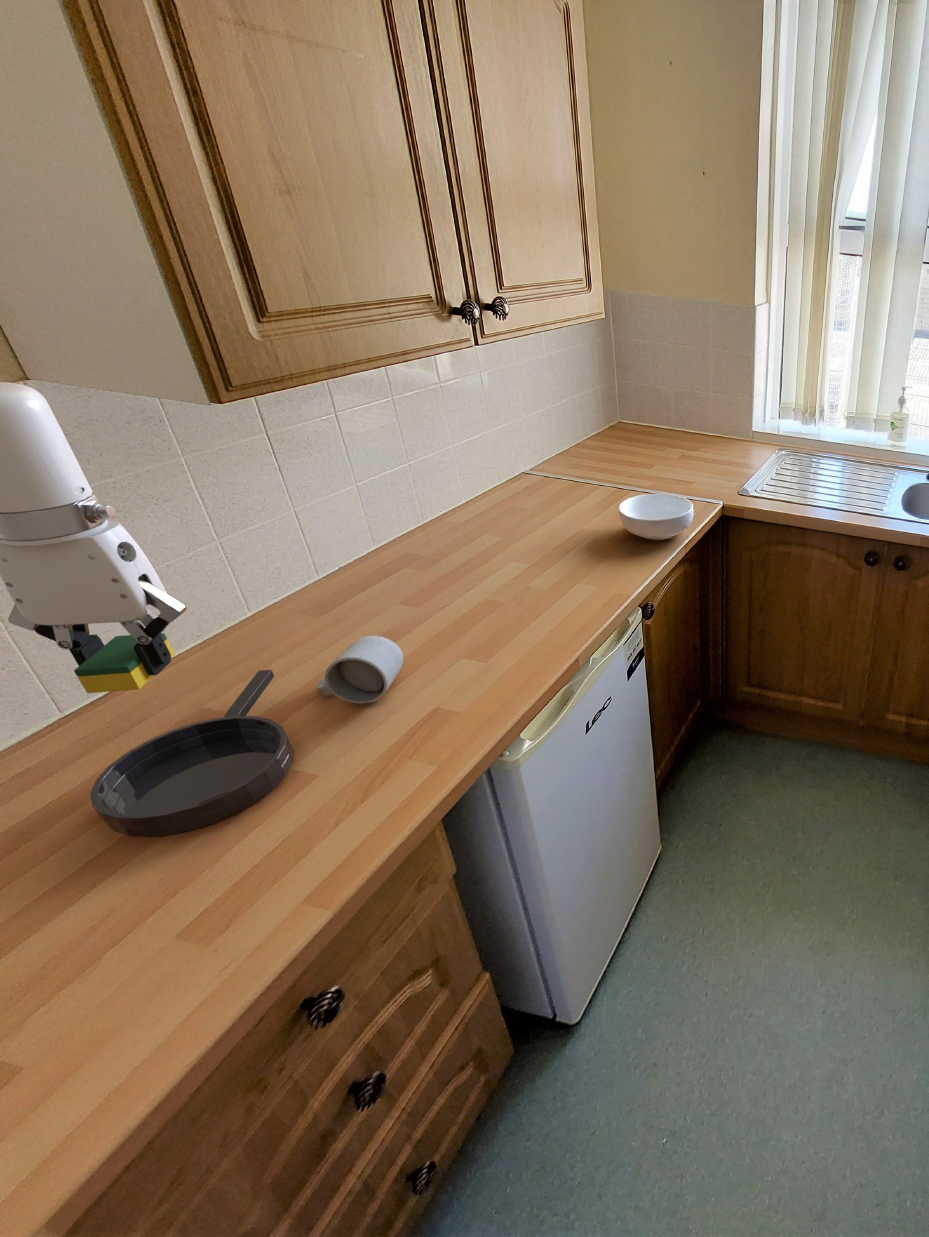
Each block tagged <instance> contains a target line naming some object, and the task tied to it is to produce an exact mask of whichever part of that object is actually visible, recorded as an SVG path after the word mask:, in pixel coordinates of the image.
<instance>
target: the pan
mask: <svg viewBox="0 0 929 1237" xmlns="http://www.w3.org/2000/svg"><path fill="white" fill-rule="evenodd" d="M294 757H295V750H294V748H293V746H292V743H291V741H290V739H289V737H288V734H287V732H286V730H285V728H284V727H283V725H281V724H280V723H278V722H277V721H275V720H273V719H271V718H266V717H262V716H258V715H246V716H232V717H223V716H222V717H215V718H211V719H207V720H202V721H197V722H193V723H190V724H187V725H185V726H181V727H178V728H175V729H171V730H169V731H167V732H164V733H162V734H160V735H158V736H156V737H153V738H151V739H148V740H146V741H145V742H143V743H141V744H139V745H137V746H135V747H134V748H132V749H131V750H129V751H127V752H125V753H124V754H122V755H121V756H120V757H119V758H117V759H116V760H115V761H113V762H112V763H110V765H108V766H107V767H106V768H105V769H104V771H103V772H102V773H101V774H100V775H99V776H98V777H97V778H96V779H95V781H94V784H93V786H92V788H91V790H90V792H89V796H90V803H91V806H92V807H93V809H94V810H95V812H96V814H98V816H99V818H100V819H101V820H102V822H103V823H104V824H105V825H106V826H107V827H108V828H109V829H110V830H111V831H112V832H115V833H118V834H120V835H124V836H127V837H137V838H163V837H172V836H176V835H177V836H178V835H183V834H186V833H191V832H195V831H198V830H201V829H204V828H208V827H211V826H213V825H216V824H218V823H220V822H223V821H225V820H228V819H230V818H232V817H234V816H236V815H238V814H240V813H242V812H244V811H246V810H248V808H251V807H253V806H254V805H255V804H257V803H258V802H260V801H261V800H263V799H264V798H265V797H267V796H268V795H270V794H271V793H272V792H273V791H274V790H275V789H276V788H277V787H278V786H279V785H280V783H281V782H282V781H283V780H284V779H285V777H287V775H288V773H289V771H290V769H291V767H292V765H293V763H294Z"/></svg>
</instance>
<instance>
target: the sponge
mask: <svg viewBox="0 0 929 1237" xmlns="http://www.w3.org/2000/svg"><path fill="white" fill-rule="evenodd" d="M161 636H162V638H163V640H164V642H165V644H166V646H167V648H168V650H169V652H170V654H171V659H172V658H173V657H175V655H176V653H175V651H174V649H173V648H172V645H171V642H170V641H169V639H168V638H167V635H166V634H165V632H161ZM137 643H138V642H137V641H136V640H135V639H134V638H133V637H132V636H131V635H130V634H128V635H115V636H114V637H113V638H111V639H110V640H109V641H108V642H106V644H104V646H103V647H102V648H101V649H100V650H98V651H97V652H96V653H95V654H93V655H92V656H91V657H90V658H89V659H87V660H86V661H85V662H84V663H82V664H81V665H80V666H79V665H78V666H77V667H76V668H75V669H74V670H73V673H74V674H75V675H76V677H77V679H78V680H79V682H80V683H81V686H82V687H83V688H84V690H85V692H86V693H87V694H97V693H98V694H99V693H108V692H109V693H112V692H122V691H138V690H141V689H142V687H143V686H145V685H146V684H147V683H148V682H149V681H150V680H151V679H152V678H153V677H154V676H155V675H149V674H148V673H147V671H146V670H145V668H144V666H143V664H142V663H141V660H140V658H139V657H138V656H137V654H136V652H135V650H134V646H135V645H136V644H137Z"/></svg>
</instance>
